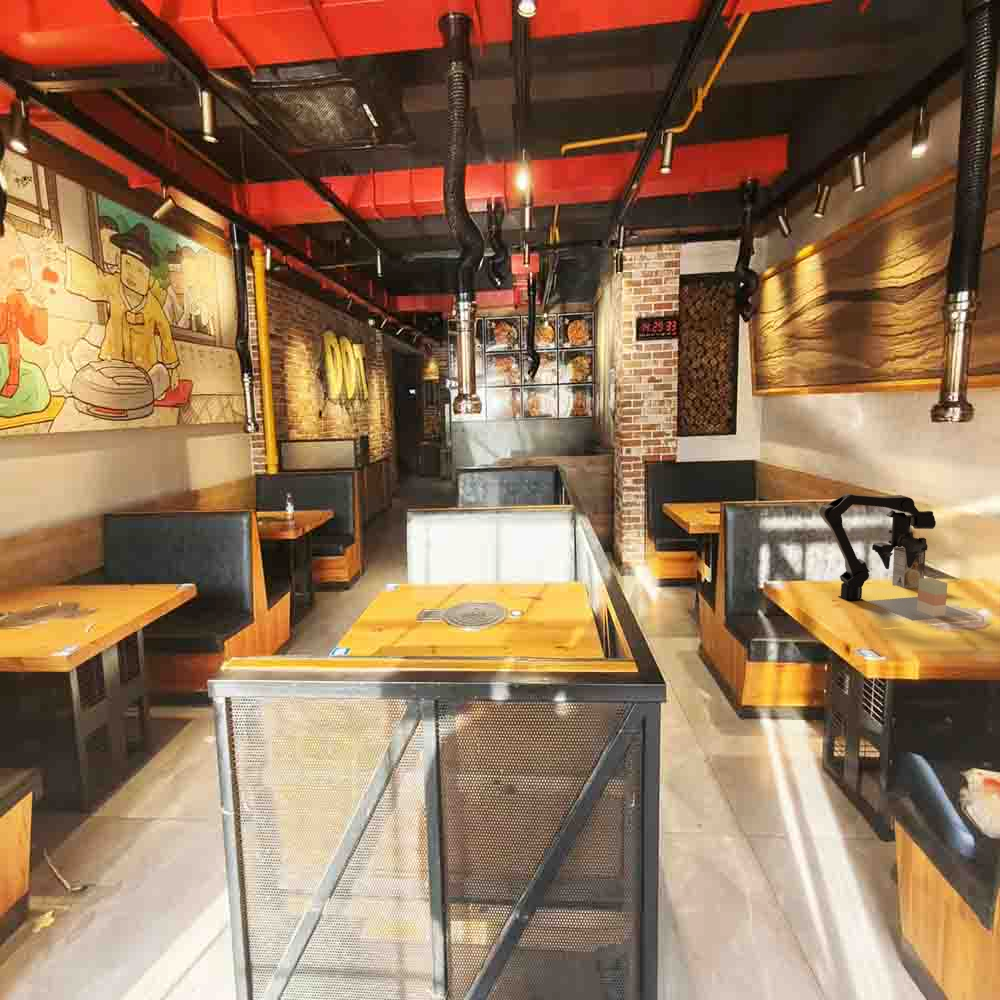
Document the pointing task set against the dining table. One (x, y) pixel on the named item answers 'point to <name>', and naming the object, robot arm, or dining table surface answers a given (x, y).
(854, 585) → the robot arm
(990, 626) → the dining table surface
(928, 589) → the sage brick
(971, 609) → the dining table surface
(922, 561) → the coffee box
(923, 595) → the terracotta brick
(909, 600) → the baseplate
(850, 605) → the dining table surface
